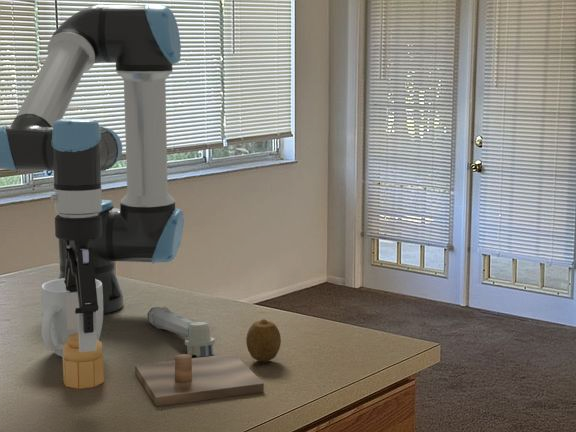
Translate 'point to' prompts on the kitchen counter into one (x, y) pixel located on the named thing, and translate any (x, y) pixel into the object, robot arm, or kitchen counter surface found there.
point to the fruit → (263, 340)
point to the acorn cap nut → (82, 365)
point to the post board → (197, 379)
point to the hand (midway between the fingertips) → (81, 339)
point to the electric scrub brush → (184, 330)
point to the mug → (62, 314)
